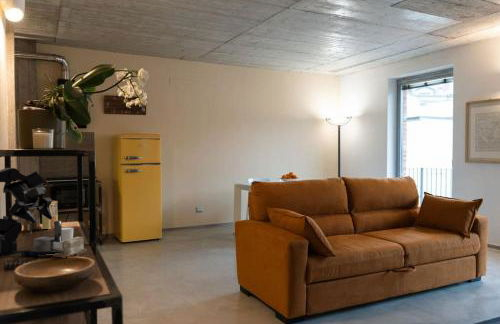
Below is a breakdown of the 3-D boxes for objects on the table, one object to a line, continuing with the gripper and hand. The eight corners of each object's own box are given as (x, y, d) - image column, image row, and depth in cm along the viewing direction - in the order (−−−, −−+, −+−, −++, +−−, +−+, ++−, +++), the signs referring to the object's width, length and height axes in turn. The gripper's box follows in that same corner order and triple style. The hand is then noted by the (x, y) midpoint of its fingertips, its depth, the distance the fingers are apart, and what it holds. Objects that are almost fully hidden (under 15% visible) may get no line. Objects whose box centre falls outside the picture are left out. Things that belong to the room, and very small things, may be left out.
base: (23, 255, 167) (23, 239, 167) (45, 249, 179) (44, 234, 179) (67, 258, 162) (67, 242, 162) (86, 251, 174) (86, 236, 174)
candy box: (51, 227, 234) (50, 200, 233) (58, 227, 233) (57, 200, 233) (42, 230, 225) (41, 202, 225) (49, 230, 224) (48, 202, 224)
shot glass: (56, 245, 186) (56, 230, 186) (59, 242, 193) (58, 227, 193) (72, 244, 188) (72, 229, 188) (74, 241, 195) (74, 226, 194)
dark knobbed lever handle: (33, 248, 171) (33, 221, 171) (39, 246, 174) (38, 219, 174) (64, 249, 168) (63, 222, 167) (69, 248, 171) (68, 221, 170)
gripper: (14, 182, 164) (38, 210, 161) (48, 179, 182) (70, 204, 179) (-2, 201, 166) (21, 229, 163) (33, 196, 184) (55, 222, 181)
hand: (43, 220), depth 172 cm, fingers open, 9 cm apart
